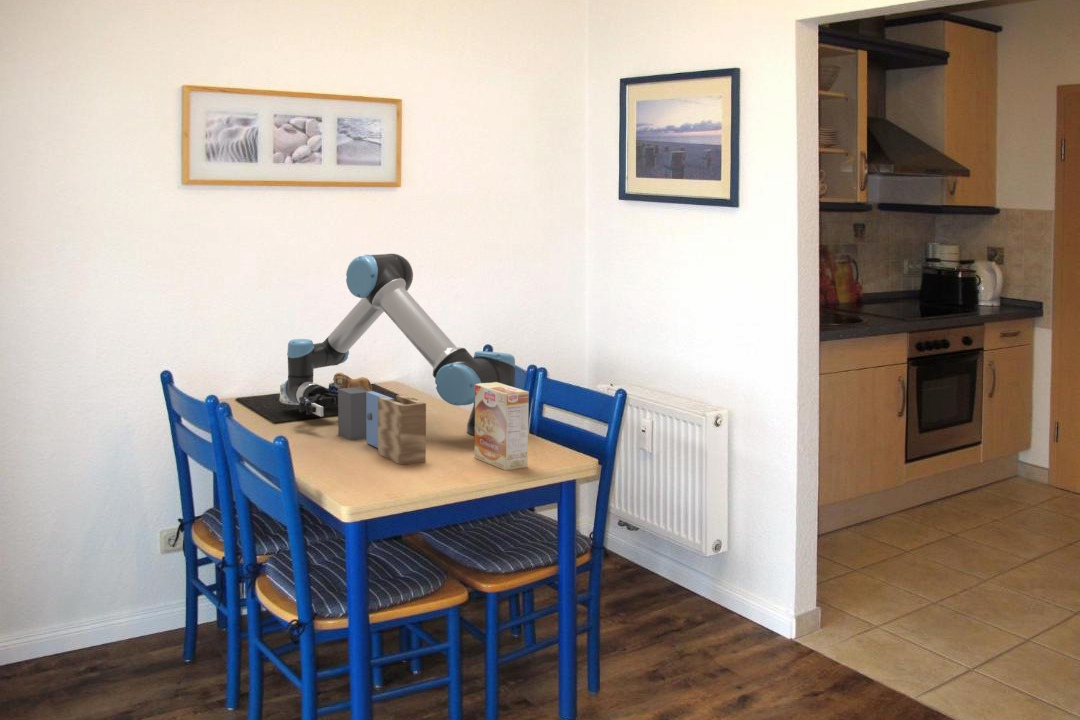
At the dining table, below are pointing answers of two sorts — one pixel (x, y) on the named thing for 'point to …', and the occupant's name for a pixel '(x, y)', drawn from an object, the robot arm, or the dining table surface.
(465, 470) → the dining table surface
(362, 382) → the lion figurine
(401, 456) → the box
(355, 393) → the block
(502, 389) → the coffeecake box
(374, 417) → the sliding door
